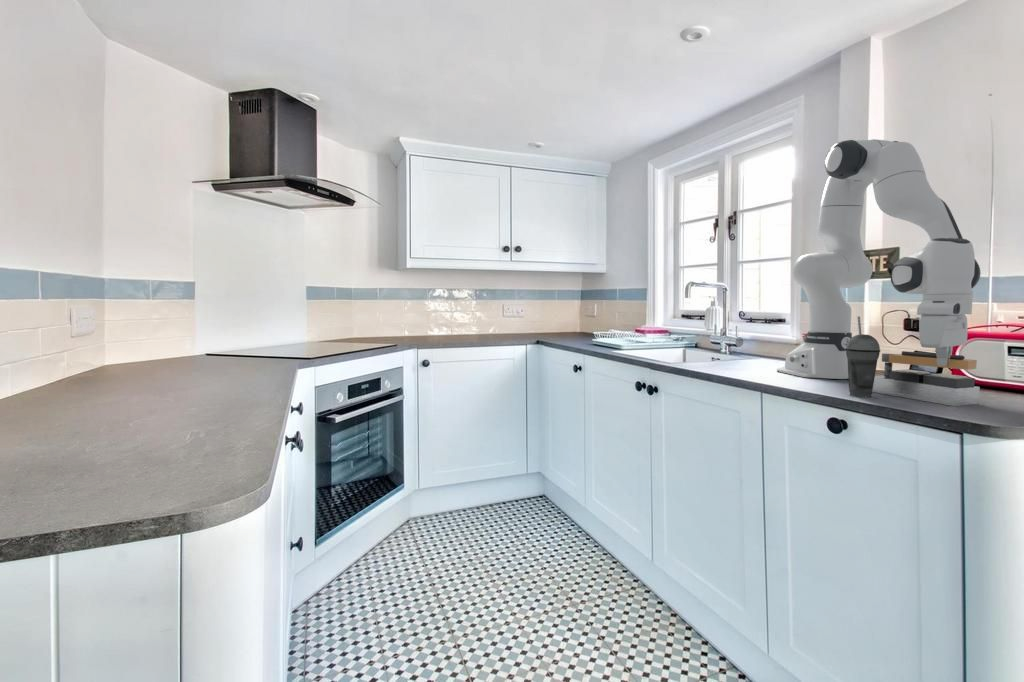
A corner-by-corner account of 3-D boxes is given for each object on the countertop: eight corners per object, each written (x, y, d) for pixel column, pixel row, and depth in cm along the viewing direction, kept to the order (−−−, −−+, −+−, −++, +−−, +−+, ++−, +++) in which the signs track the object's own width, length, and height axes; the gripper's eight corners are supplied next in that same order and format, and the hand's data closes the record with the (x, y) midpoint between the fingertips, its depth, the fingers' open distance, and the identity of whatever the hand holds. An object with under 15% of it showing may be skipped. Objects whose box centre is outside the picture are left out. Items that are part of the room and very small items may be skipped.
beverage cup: (876, 399, 120) (880, 317, 119) (840, 395, 125) (844, 316, 124) (879, 395, 126) (884, 316, 124) (845, 392, 131) (849, 315, 129)
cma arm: (877, 361, 131) (878, 350, 131) (886, 360, 133) (887, 349, 133) (967, 369, 114) (968, 356, 114) (976, 368, 117) (977, 355, 116)
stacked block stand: (868, 391, 132) (869, 362, 131) (890, 389, 134) (891, 361, 134) (954, 406, 113) (956, 372, 112) (978, 404, 115) (980, 371, 115)
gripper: (944, 307, 125) (940, 361, 126) (914, 306, 114) (910, 367, 115) (977, 307, 120) (974, 364, 121) (949, 306, 108) (946, 369, 109)
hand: (943, 365), depth 118 cm, fingers closed
